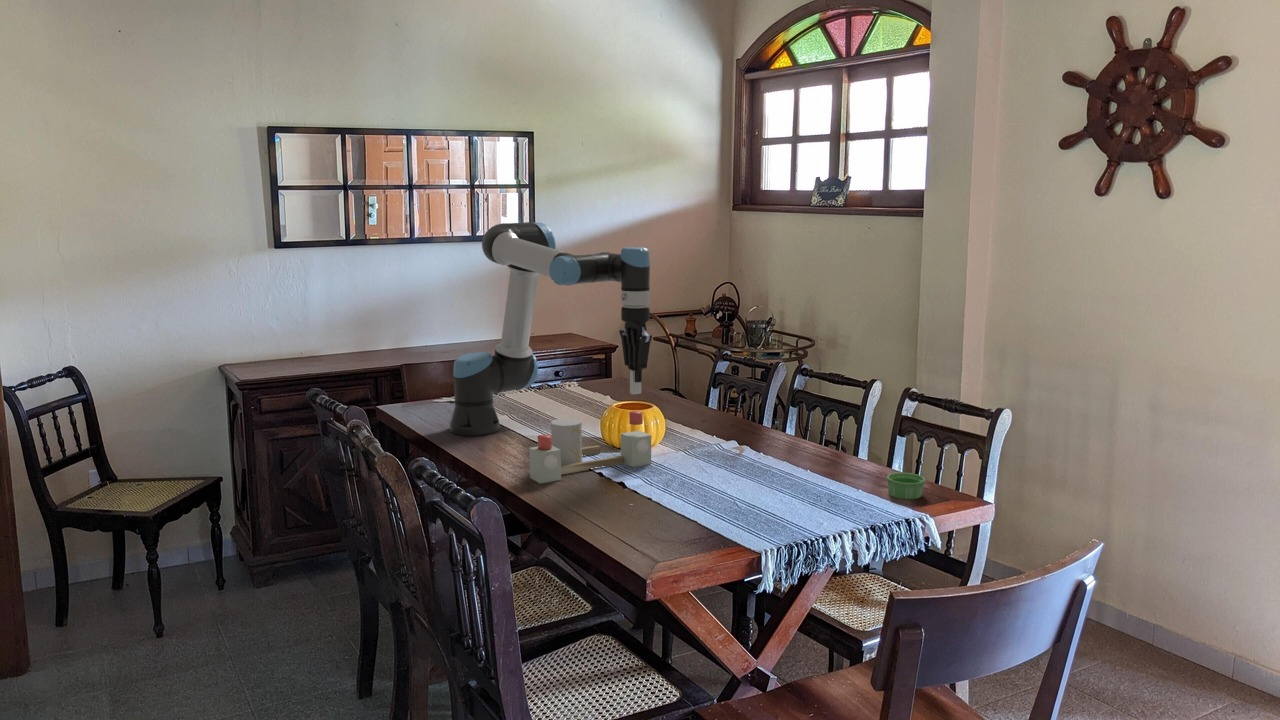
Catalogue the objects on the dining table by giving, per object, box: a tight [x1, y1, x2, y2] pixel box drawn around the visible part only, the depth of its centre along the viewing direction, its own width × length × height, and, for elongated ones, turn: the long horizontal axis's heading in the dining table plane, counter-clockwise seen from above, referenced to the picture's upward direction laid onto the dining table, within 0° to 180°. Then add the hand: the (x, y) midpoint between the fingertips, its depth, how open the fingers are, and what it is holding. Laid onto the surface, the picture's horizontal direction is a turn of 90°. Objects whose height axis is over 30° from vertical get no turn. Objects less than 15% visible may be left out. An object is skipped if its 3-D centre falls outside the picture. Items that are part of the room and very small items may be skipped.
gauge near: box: [537, 434, 552, 450], centre depth 257 cm, size 4×4×3 cm
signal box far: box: [620, 430, 652, 468], centre depth 272 cm, size 6×6×8 cm
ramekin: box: [886, 472, 926, 500], centre depth 245 cm, size 9×9×4 cm
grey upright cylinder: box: [550, 417, 583, 465], centre depth 270 cm, size 8×8×12 cm
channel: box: [561, 445, 624, 476], centre depth 273 cm, size 14×19×2 cm
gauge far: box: [628, 410, 644, 426], centre depth 271 cm, size 4×4×3 cm
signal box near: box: [528, 445, 562, 484], centre depth 258 cm, size 6×6×8 cm
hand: (635, 393), depth 269 cm, fingers closed
